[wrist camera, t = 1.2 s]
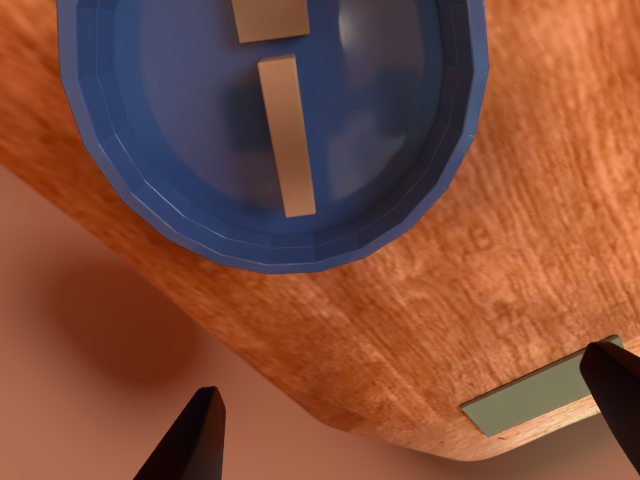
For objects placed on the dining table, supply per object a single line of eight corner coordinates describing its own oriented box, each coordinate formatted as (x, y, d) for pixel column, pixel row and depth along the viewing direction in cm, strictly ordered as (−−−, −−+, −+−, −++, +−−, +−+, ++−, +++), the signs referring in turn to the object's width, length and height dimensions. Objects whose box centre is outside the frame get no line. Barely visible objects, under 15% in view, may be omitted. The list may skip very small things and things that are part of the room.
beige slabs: (218, -72, 13) (204, -89, 11) (296, -83, 13) (296, -102, 11) (272, 198, 18) (270, 220, 16) (327, 191, 18) (331, 212, 16)
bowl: (503, 125, 18) (545, 145, 15) (267, 280, 22) (263, 322, 19) (319, -282, 11) (328, -397, 8) (26, 55, 15) (-41, 63, 12)
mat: (486, 434, 32) (487, 437, 32) (459, 405, 30) (461, 408, 29) (632, 372, 29) (635, 375, 28) (616, 334, 26) (619, 337, 26)
